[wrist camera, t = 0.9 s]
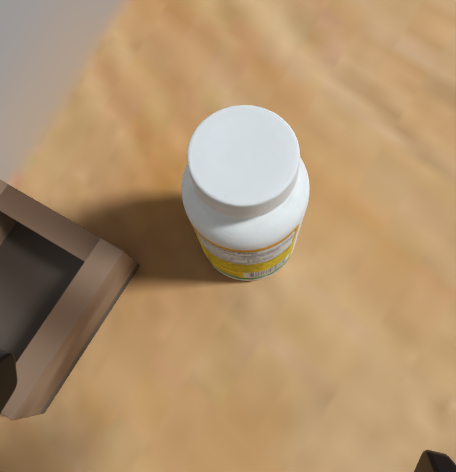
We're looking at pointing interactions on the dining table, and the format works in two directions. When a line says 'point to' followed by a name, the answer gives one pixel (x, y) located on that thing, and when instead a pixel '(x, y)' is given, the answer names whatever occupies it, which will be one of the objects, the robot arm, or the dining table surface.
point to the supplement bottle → (245, 191)
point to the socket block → (51, 295)
